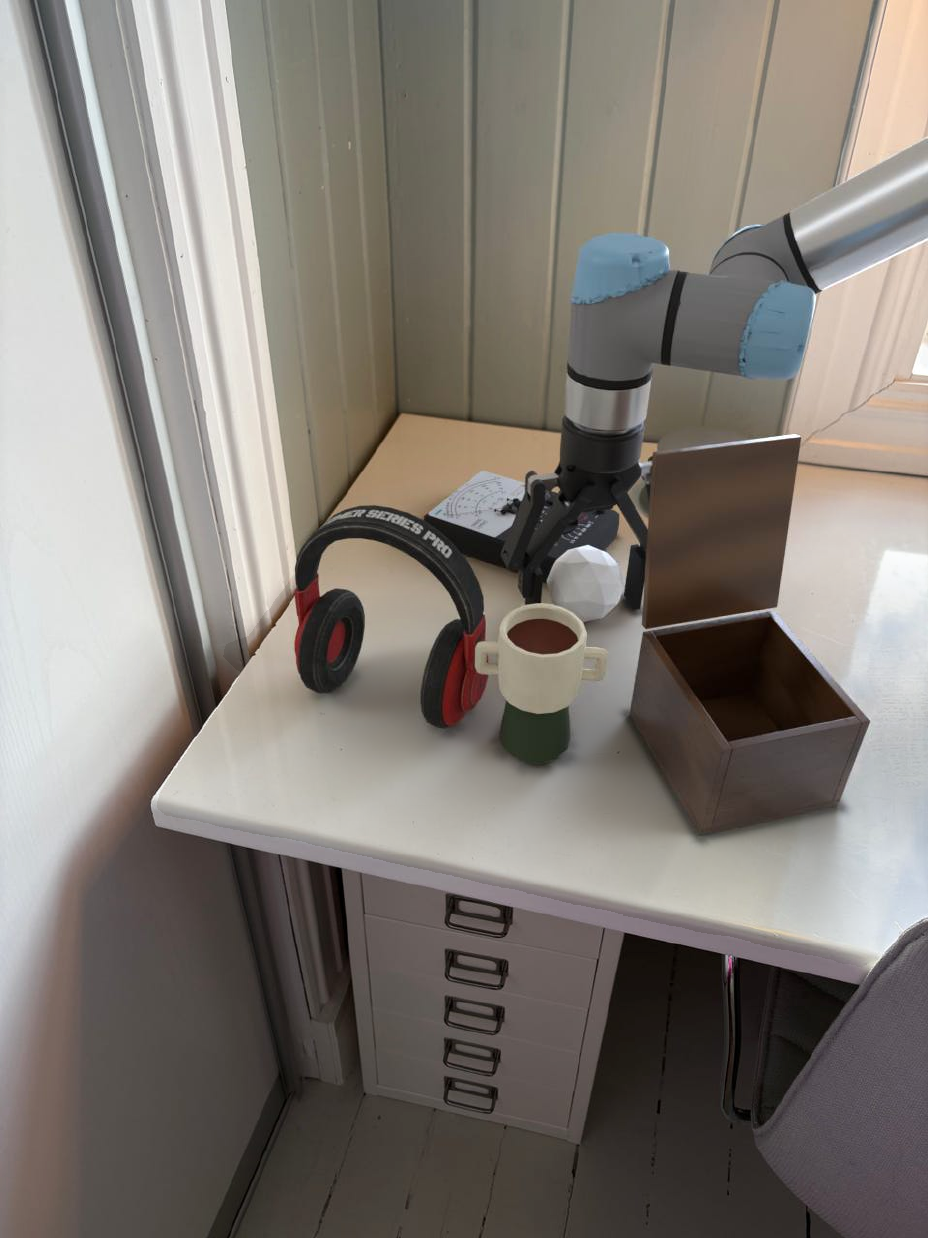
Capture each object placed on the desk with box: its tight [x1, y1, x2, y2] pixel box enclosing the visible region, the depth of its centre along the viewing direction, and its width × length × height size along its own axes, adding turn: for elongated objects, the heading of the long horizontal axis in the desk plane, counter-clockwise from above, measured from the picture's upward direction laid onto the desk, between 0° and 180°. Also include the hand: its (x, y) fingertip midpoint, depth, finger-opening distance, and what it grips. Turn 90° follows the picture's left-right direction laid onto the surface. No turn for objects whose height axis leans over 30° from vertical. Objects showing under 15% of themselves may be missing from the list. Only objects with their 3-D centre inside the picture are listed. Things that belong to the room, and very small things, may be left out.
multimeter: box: [423, 470, 620, 584], centre depth 107 cm, size 13×19×5 cm
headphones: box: [293, 504, 490, 730], centre depth 81 cm, size 18×10×20 cm, turn 68°
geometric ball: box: [546, 545, 625, 623], centre depth 96 cm, size 8×8×8 cm
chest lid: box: [641, 433, 802, 630], centre depth 77 cm, size 16×13×1 cm
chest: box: [629, 610, 871, 836], centre depth 79 cm, size 15×13×10 cm
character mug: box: [475, 602, 609, 765], centre depth 79 cm, size 11×7×13 cm, turn 86°
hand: (582, 610), depth 98 cm, fingers open, 10 cm apart
